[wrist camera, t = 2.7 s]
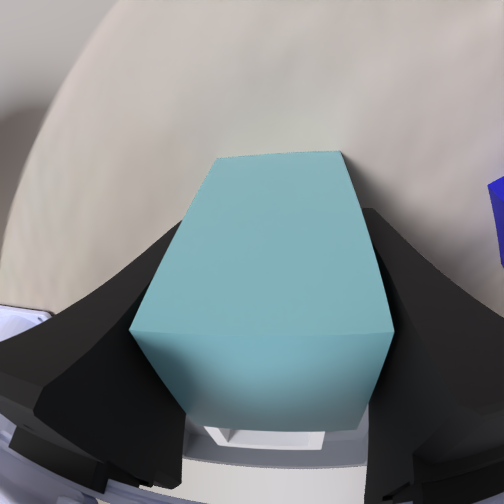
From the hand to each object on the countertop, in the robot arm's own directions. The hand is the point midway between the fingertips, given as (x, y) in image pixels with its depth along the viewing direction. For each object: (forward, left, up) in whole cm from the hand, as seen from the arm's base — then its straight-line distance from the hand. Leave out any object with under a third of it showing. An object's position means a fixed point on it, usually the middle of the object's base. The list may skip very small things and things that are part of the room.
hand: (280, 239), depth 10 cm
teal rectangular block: (0, 0, -2) cm, 2 cm away
